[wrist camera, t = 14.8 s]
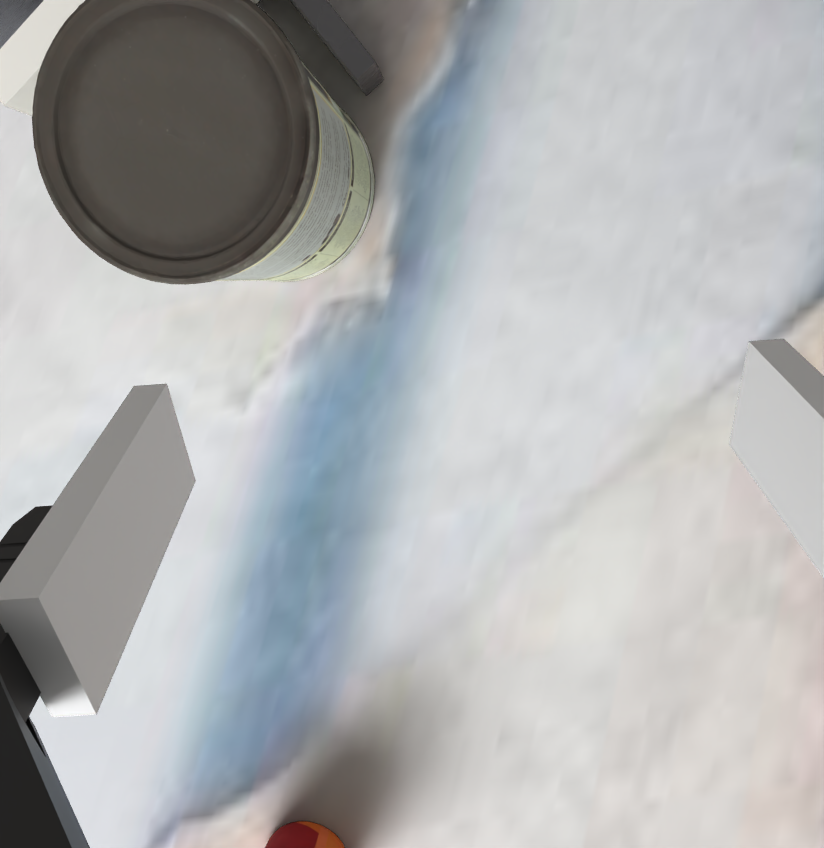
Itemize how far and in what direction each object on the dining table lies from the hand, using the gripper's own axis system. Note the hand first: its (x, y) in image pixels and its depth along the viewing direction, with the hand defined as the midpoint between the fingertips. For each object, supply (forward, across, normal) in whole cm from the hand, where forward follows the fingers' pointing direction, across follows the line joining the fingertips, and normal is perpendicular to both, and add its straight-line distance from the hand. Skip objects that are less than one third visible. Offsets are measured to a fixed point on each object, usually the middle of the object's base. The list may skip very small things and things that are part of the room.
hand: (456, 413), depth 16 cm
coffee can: (+26, -8, 0) cm, 27 cm away
